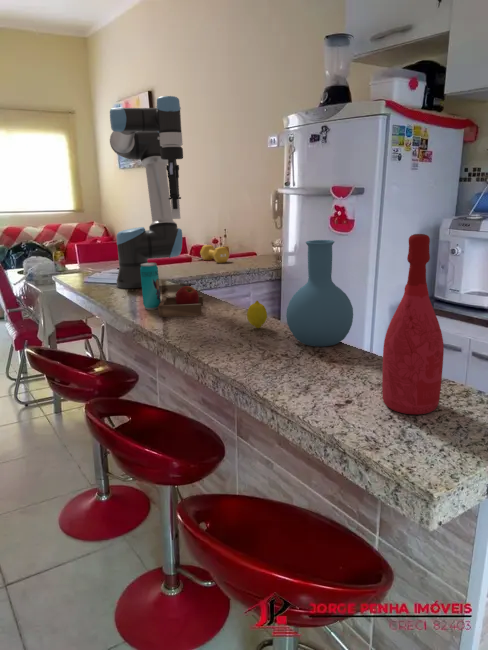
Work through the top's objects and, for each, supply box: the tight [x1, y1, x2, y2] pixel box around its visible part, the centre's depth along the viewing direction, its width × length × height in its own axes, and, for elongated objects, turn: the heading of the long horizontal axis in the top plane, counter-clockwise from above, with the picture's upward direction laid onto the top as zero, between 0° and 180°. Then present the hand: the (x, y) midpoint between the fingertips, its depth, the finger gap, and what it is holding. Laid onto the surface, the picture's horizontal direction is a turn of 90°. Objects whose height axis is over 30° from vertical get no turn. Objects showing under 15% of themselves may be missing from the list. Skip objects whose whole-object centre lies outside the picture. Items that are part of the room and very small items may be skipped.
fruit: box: [246, 300, 268, 329], centre depth 140 cm, size 6×6×8 cm
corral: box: [157, 295, 204, 318], centre depth 163 cm, size 13×13×4 cm
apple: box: [174, 285, 200, 305], centre depth 164 cm, size 8×8×8 cm
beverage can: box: [140, 262, 162, 311], centre depth 167 cm, size 6×6×15 cm
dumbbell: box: [199, 244, 230, 264], centre depth 271 cm, size 19×9×8 cm, turn 31°
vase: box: [285, 239, 354, 347], centre depth 124 cm, size 16×16×25 cm
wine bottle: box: [381, 233, 445, 415], centre depth 85 cm, size 10×10×30 cm
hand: (176, 218), depth 175 cm, fingers closed
